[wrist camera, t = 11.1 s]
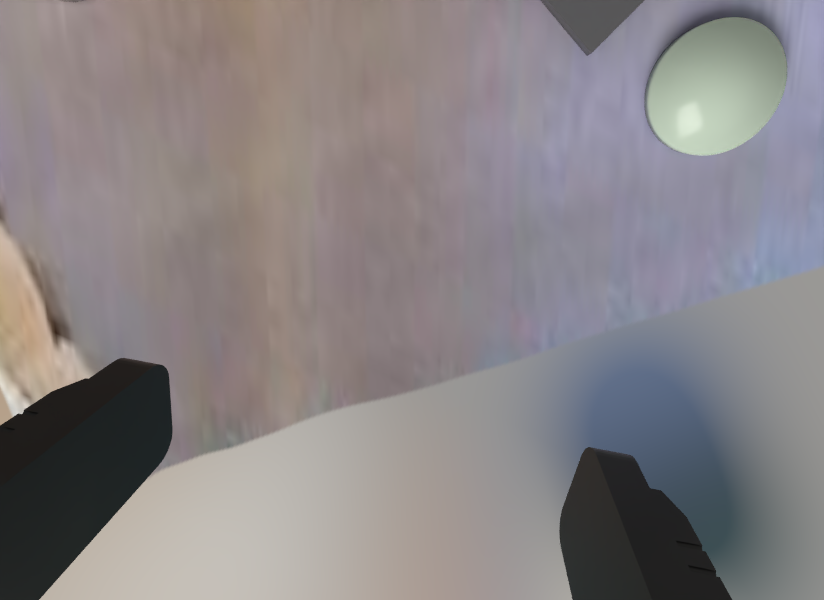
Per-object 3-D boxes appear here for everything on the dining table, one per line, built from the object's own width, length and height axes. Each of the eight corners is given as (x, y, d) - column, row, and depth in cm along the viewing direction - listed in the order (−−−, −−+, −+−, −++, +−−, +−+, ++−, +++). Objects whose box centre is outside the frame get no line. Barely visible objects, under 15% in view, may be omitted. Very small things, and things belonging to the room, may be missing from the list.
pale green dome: (622, 76, 30) (627, 75, 29) (746, -10, 28) (756, -15, 27) (676, 178, 32) (682, 179, 31) (796, 105, 30) (807, 104, 29)
